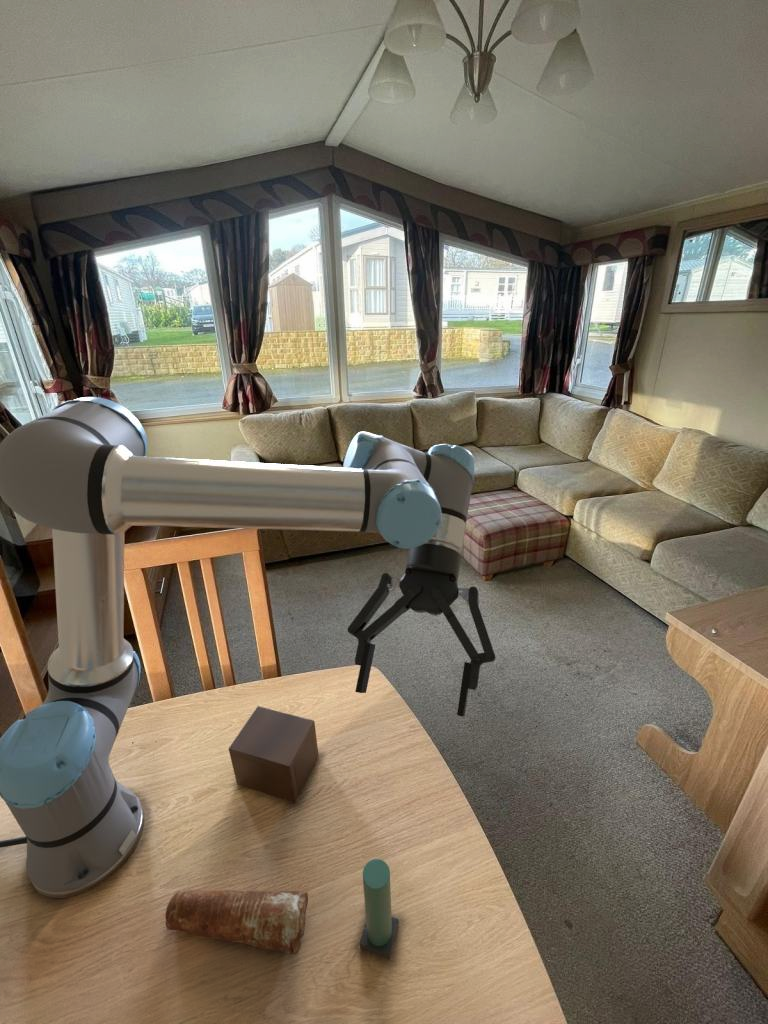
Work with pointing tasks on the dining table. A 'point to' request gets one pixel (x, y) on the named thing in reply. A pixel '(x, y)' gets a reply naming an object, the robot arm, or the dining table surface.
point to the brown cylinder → (242, 916)
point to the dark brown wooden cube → (275, 753)
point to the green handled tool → (378, 910)
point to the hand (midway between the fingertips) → (409, 703)
